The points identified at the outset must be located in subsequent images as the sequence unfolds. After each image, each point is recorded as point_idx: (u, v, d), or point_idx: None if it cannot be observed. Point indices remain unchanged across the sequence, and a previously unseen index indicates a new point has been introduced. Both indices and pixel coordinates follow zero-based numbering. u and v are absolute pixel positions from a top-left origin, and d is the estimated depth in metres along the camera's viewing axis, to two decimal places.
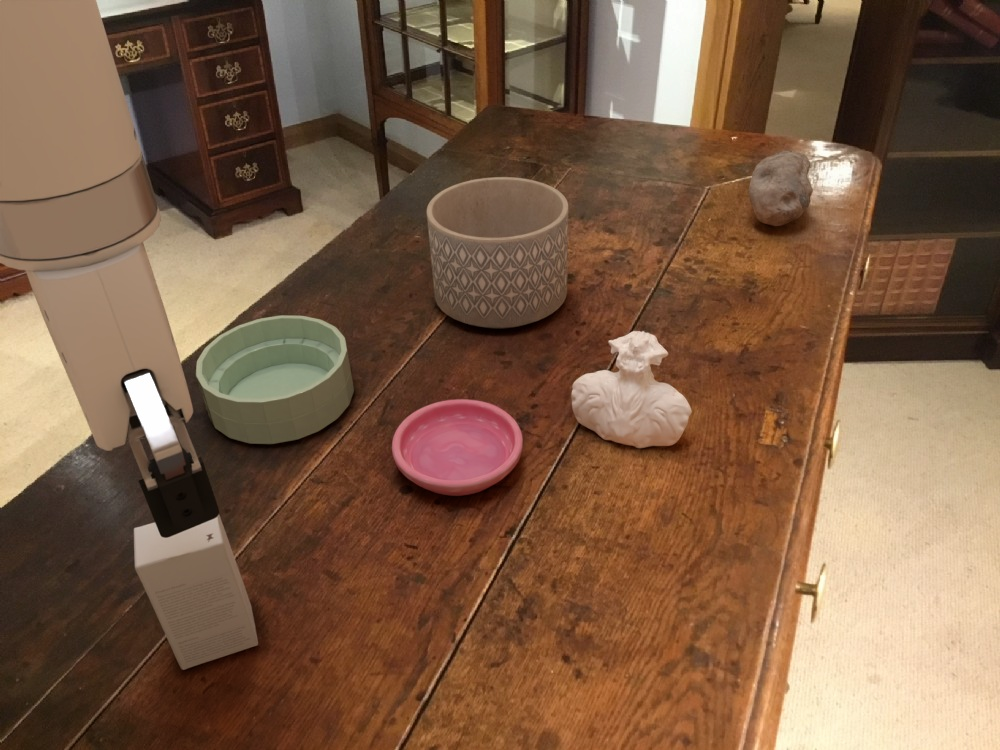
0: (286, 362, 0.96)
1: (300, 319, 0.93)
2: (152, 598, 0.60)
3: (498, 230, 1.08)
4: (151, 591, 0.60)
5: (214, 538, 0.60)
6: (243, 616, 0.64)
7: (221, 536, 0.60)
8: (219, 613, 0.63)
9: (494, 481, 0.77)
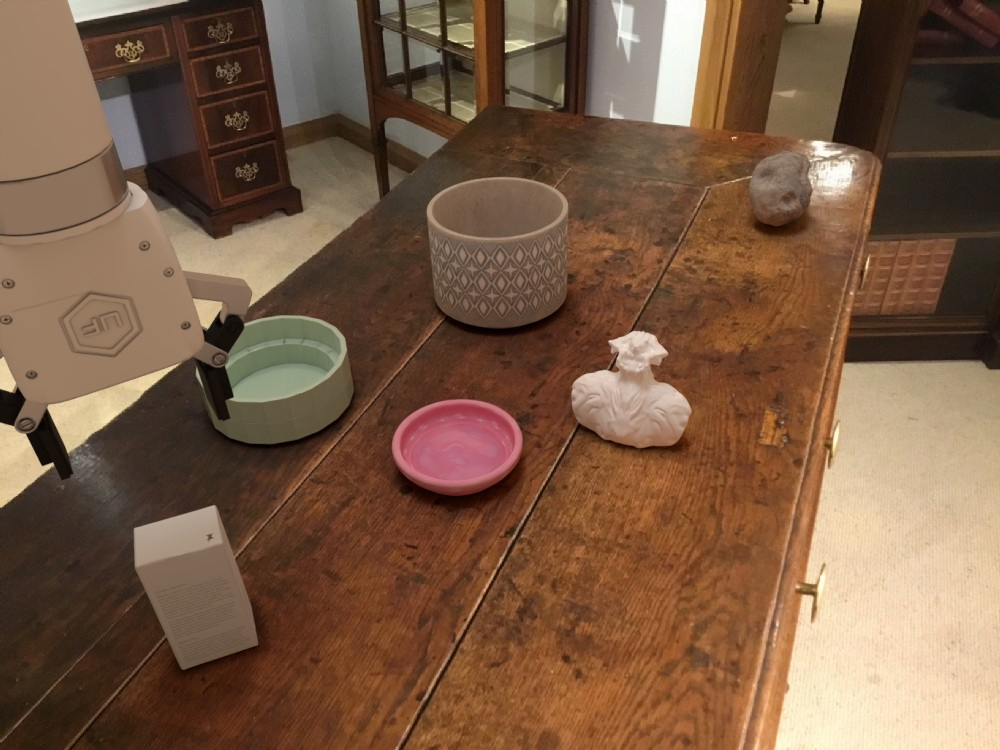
0: (286, 362, 0.96)
1: (300, 319, 0.93)
2: (152, 598, 0.60)
3: (498, 230, 1.08)
4: (151, 591, 0.60)
5: (214, 538, 0.60)
6: (243, 616, 0.64)
7: (221, 536, 0.60)
8: (219, 613, 0.63)
9: (494, 481, 0.77)
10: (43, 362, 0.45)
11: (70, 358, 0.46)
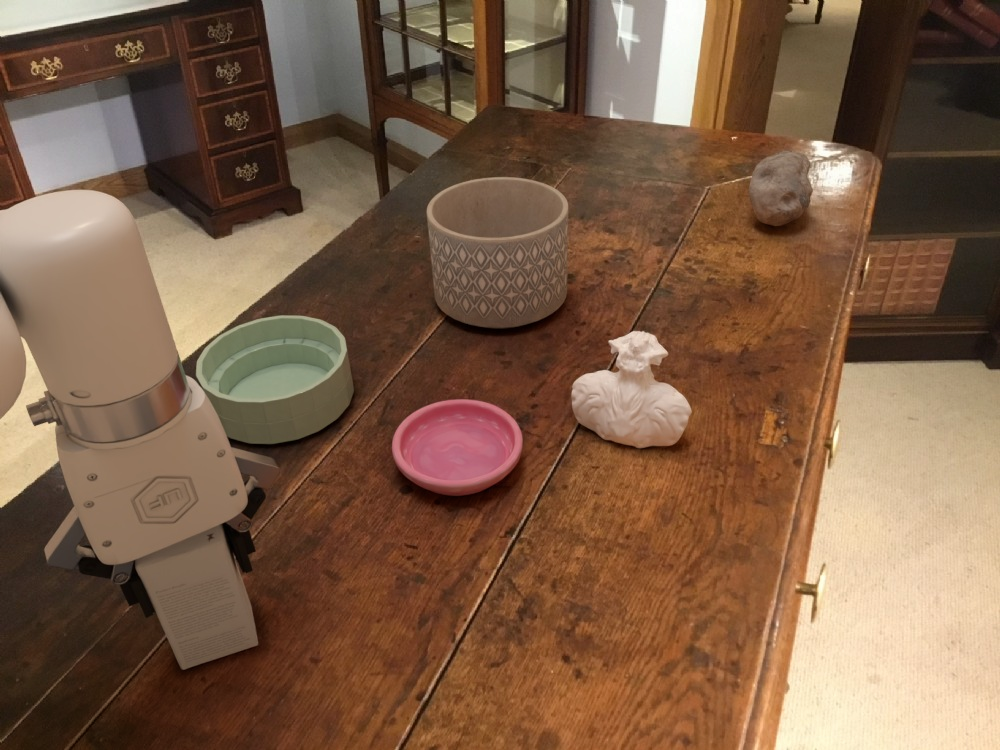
0: (286, 362, 0.96)
1: (300, 319, 0.93)
2: (152, 598, 0.60)
3: (498, 230, 1.08)
4: (151, 591, 0.60)
5: (215, 538, 0.60)
6: (243, 616, 0.64)
7: (222, 536, 0.60)
8: (219, 612, 0.63)
9: (494, 481, 0.77)
10: (117, 533, 0.54)
11: (138, 528, 0.55)
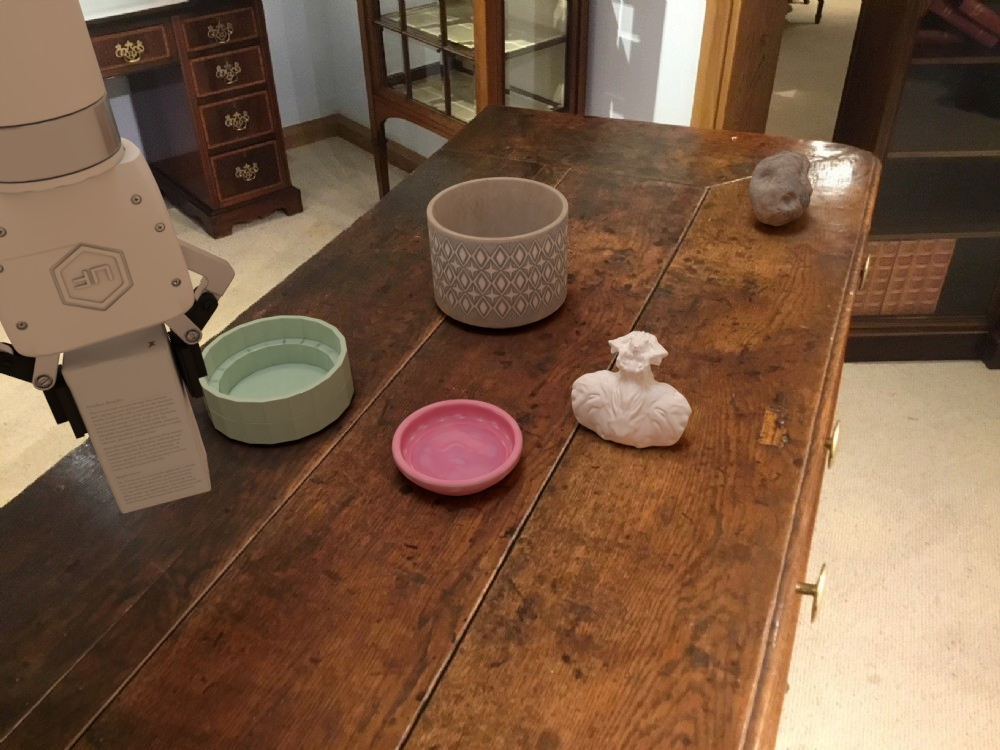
0: (286, 362, 0.96)
1: (300, 319, 0.93)
2: (83, 414, 0.52)
3: (498, 230, 1.08)
4: (82, 404, 0.51)
5: (157, 345, 0.52)
6: (193, 450, 0.56)
7: (165, 344, 0.52)
8: (164, 442, 0.55)
9: (494, 481, 0.77)
10: (34, 313, 0.46)
11: (61, 310, 0.46)
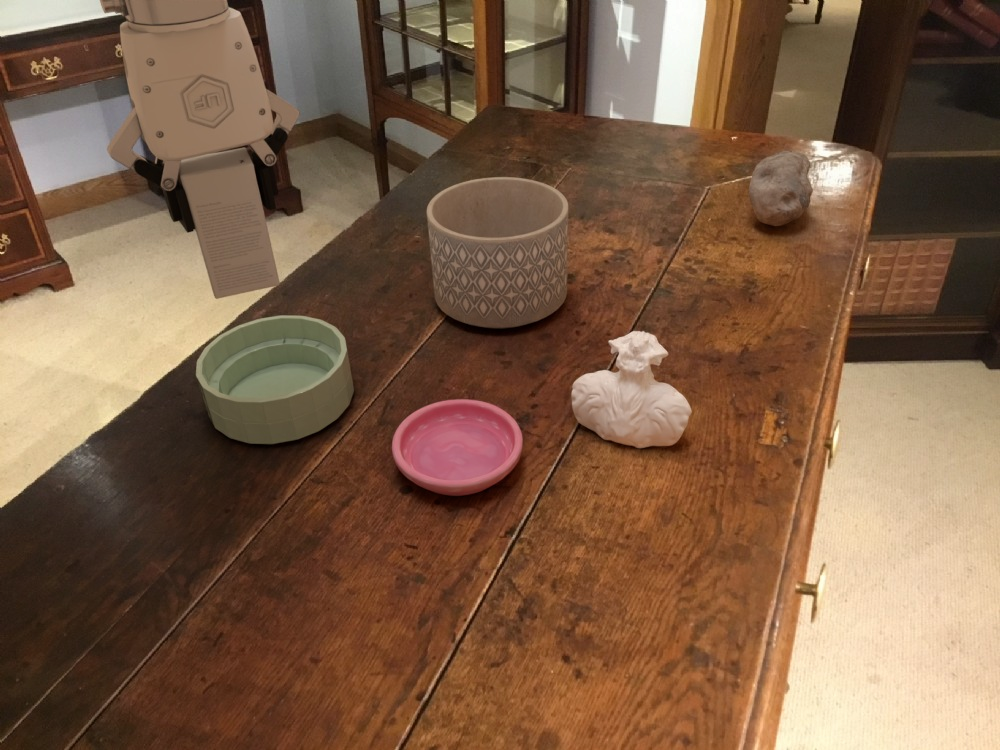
0: (286, 362, 0.96)
1: (300, 319, 0.93)
2: (193, 212, 0.72)
3: (498, 230, 1.08)
4: (193, 204, 0.71)
5: (246, 162, 0.72)
6: (268, 249, 0.76)
7: (251, 161, 0.72)
8: (247, 241, 0.75)
9: (494, 481, 0.77)
10: (168, 125, 0.66)
11: (185, 125, 0.67)
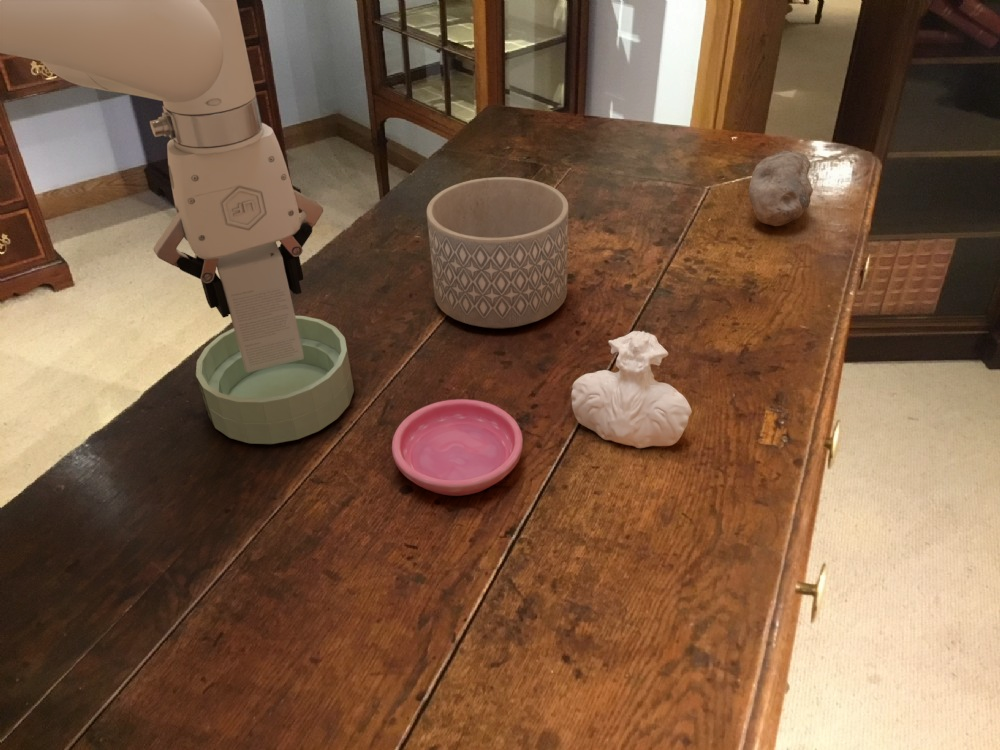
0: None
1: (300, 319, 0.93)
2: (229, 300, 0.80)
3: (498, 230, 1.08)
4: (228, 293, 0.80)
5: (275, 255, 0.80)
6: (294, 328, 0.84)
7: (280, 254, 0.80)
8: (276, 322, 0.83)
9: (494, 481, 0.77)
10: (209, 230, 0.75)
11: (224, 228, 0.75)
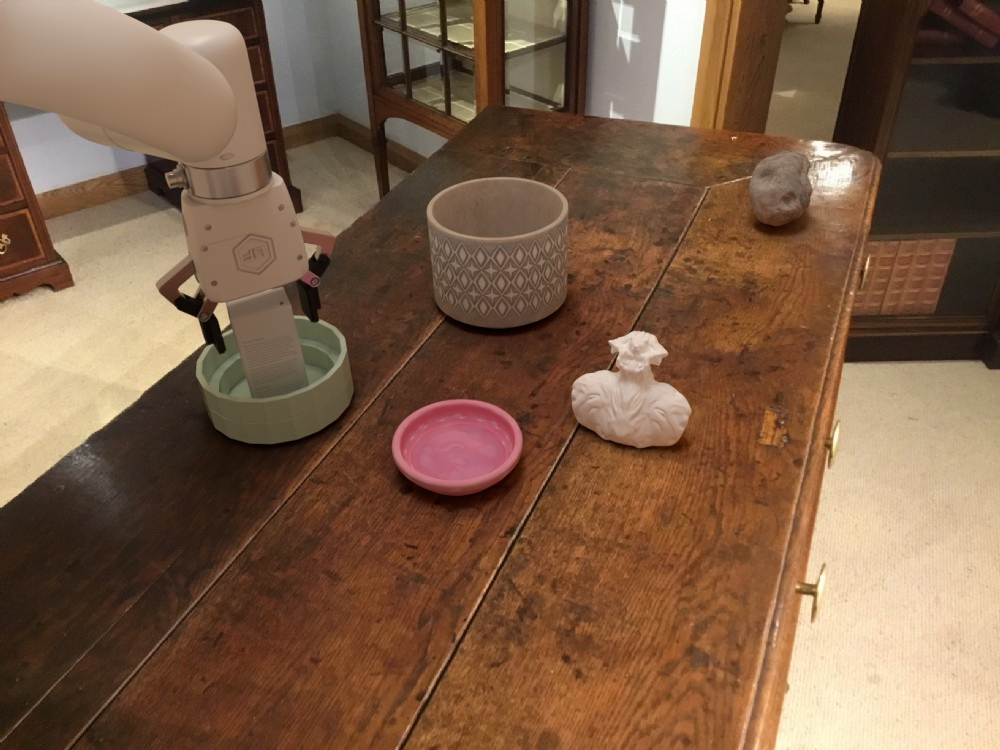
0: None
1: (300, 319, 0.93)
2: (240, 347, 0.83)
3: (498, 230, 1.08)
4: (239, 341, 0.83)
5: (285, 303, 0.83)
6: (303, 372, 0.88)
7: (289, 303, 0.84)
8: (285, 367, 0.87)
9: (494, 481, 0.77)
10: (221, 275, 0.77)
11: (235, 274, 0.78)
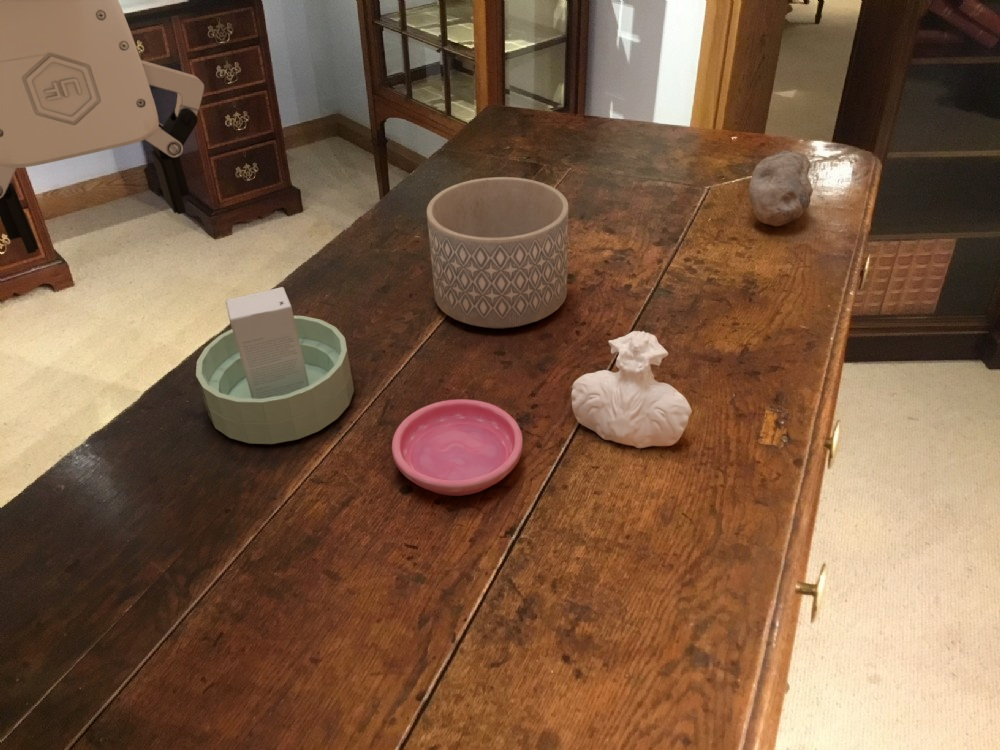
0: None
1: (300, 319, 0.93)
2: (240, 347, 0.83)
3: (498, 229, 1.08)
4: (239, 341, 0.83)
5: (285, 303, 0.83)
6: (303, 372, 0.88)
7: (289, 303, 0.84)
8: (285, 367, 0.87)
9: (494, 481, 0.77)
10: (8, 121, 0.50)
11: (33, 120, 0.51)
